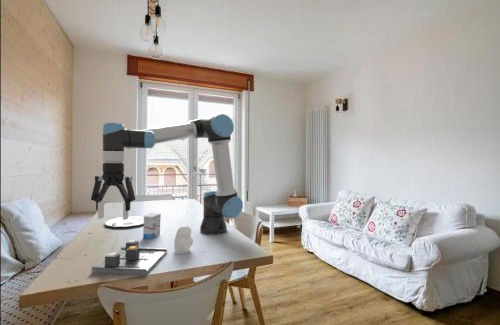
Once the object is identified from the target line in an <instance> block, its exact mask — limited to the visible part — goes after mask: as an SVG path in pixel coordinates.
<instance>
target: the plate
mask: <svg viewBox="0 0 500 325" xmlns="http://www.w3.org/2000/svg"><path fill="white" fill-rule="evenodd" d="M113 223H116V226H112V224H113ZM125 223H131V224H125ZM104 224H105V226H106V227H112V228H117V229H128V228H135V227H140V226H142V225H143V226H144V216H139V215H137V216H136V215H135V216H132V215H131V216H130V215H128V218H127V219H125V220H123V216H121V217H120V216H119V217H116V218H112V219H109V220H107V221H105V222H104Z"/></svg>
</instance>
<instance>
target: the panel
mask: <svg viewBox="0 0 500 325" xmlns="http://www.w3.org/2000/svg"><path fill="white" fill-rule="evenodd" d="M167 252H168V249H167V248H159V247H155V248H154V247H139V258H138V259H137V260H126V246H122V247H120V250H118V251H117V252H116V253H118V254H120V265H119V266H117V267H105V260H103V261H102V262H100V263H99V264H97V265H96V266H95V265H94V266H92V267H91V274H96V275H113V276H114V275H118V276H119V275H120V276H141V277H142V276H143V277H144V276H145V277H146V276H147V275H149V273H150V272H151V271H152V270H153V269H154V268H155V267H156V266H157V265H158V264H159V262H161V261H162V259H163V258H164V257H165V256H166V255H167Z"/></svg>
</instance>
